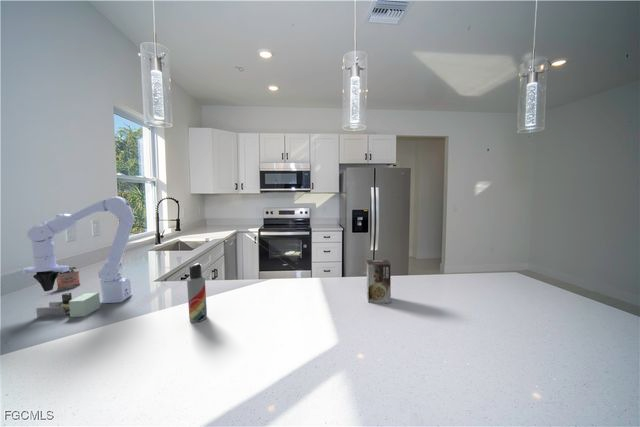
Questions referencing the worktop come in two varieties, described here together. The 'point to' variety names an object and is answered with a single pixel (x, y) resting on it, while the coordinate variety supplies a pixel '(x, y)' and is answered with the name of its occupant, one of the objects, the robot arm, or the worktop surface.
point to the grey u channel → (52, 310)
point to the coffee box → (378, 281)
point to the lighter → (68, 279)
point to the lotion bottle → (196, 294)
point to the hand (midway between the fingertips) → (48, 290)
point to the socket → (84, 304)
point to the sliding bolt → (66, 300)
